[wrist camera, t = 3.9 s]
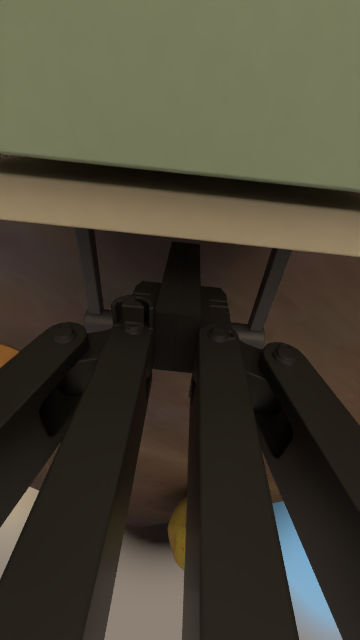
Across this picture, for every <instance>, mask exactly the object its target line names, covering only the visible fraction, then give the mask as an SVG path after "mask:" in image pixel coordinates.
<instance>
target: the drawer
mask: <svg viewBox="0 0 360 640" xmlns="http://www.w3.org/2000/svg"><path fill="white" fill-rule="evenodd" d="M0 219H1V220H10V221H20V222H29V223H39V224H48V225H58V226H68V227H74V229H75V235H76V240H77V246H78V252H79V258H80V264H81V270H82V276H83V282H84V287H85V293H86V299H87V305H88V310H87V312H86V314H85V318H84V327H85V329H86V330H87V333H91V332H100V331H105V330H108V329H111V328H112V326H113V319H112V310H104V307H103V298H102V290H101V282H100V274H99V266H98V258H97V250H96V242H95V234H94V229H96V230H106V231H115V232H125V233H134V234H144V235H153V236H163V237H173V238H182V239H192V240H201V241H211V242H220V243H230V244H239V245H249V246H259V247H268V248H272V251H271V254H270V257H269V260H268V263H267V266H266V269H265V273H264V276H263V279H262V282H261V285H260V288H259V291H258V294H257V297H256V300H255V304H254V307H253V310H252V313H251V316H250V319H249V322H248V324H241V323H231V326H232V329H233V330H234V331H236V332H237V334H238V336H239V340H240V341H242V342H244V343H245V344H248V345H250V346H253V347H256V348H259V349H263V346H264V341H265V332H264V328H263V326H264V323H265V320H266V318H267V315H268V312H269V310H270V307H271V304H272V302H273V299H274V296H275V294H276V291H277V288H278V286H279V283H280V280H281V277H282V275H283V272H284V269H285V267H286V264H287V261H288V259H289V256H290V253H291V251H292V250H297V251H306V252H316V253H325V254H335V255H345V256H354V257H360V193H358V192H350V191H340V190H331V189H322V188H312V187H303V186H294V185H284V184H275V183H265V182H256V181H247V180H237V179H228V178H219V177H209V176H200V175H191V174H181V173H172V172H163V171H153V170H144V169H134V168H125V167H116V166H106V165H97V164H88V163H78V162H69V161H60V160H50V159H41V158H31V157H22V156H19V157H11V158H3V159H0Z"/></svg>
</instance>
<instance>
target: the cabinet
mask: <svg viewBox="0 0 360 640" xmlns="http://www.w3.org/2000/svg"><path fill="white" fill-rule="evenodd" d="M0 154H3V155H13V156H22V157H31V158H41V159H50V160H60V161H69V162H78V163H88V164H97V165H106V166H116V167H125V168H134V169H144V170H153V171H163V172H172V173H181V174H191V175H200V176H209V177H219V178H228V179H237V180H247V181H256V182H265V183H275V184H284V185H294V186H303V187H312V188H322V189H331V190H340V191H350V192H359V193H360V0H0Z"/></svg>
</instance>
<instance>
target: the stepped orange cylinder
mask: <svg viewBox="0 0 360 640" xmlns="http://www.w3.org/2000/svg"><path fill="white" fill-rule="evenodd" d="M18 353H19V351H17V350H15V349H13V348H11V347H8V346H5V345H1V344H0V368H1V367H2V366H3V365H4V364H6V363H7V362H8V361H9V360H10V359H12V358H13V357H14V356H15V355H16V354H18Z"/></svg>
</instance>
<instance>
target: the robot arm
mask: <svg viewBox="0 0 360 640" xmlns="http://www.w3.org/2000/svg"><path fill="white" fill-rule="evenodd" d="M111 310H112V319H113V326H112V328H111V329H108V330H105V331H100V332H91V333H87V330H86V329H85V327H84V326H82V325H80V324H78V323H72V322H67V323H60V324H57V325H54V326H52V327H50V328H49V329H47V330H45V331H44V332H43V333H42V334H41V335H39V336H38V337H37V338H36V339H35V340H33V341H32V342H31V343H30V344H28V345H27V346H26V347H25V348H24V349H22V350H21V351H20V352H19V353H18V354H16V355H15V356H14V357H13V358H12V359H10V360H9V361H8V362H7V363H6V364H4V365H3V366H2V367H1V368H0V527H1V526H2V524H3V523H4V521H5V520H6V518H7V517H8V516H9V514H10V513H11V511H12V510H13V508H14V507H15V506H16V504H17V503H18V502H19V500H20V499H21V497H22V496H23V494H24V493H25V492H26V490H27V489H28V487H29V486H30V485H31V483H32V482H33V480H34V479H35V478H36V476H37V475H38V473H39V472H40V471H41V469H42V468H43V466H44V465H45V463H46V462H47V461H48V459H49V458H50V456H51V455H52V454H53V452H54V451H55V449H56V448H57V446H58V445H59V444H60V442H61V444H60V446H59V448H58V450H57V453H56V455H55V457H54V459H53V462H52V464H51V466H50V468H49V471H48V473H47V475H46V478H45V480H44V482H43V484H42V487H41V489H40V491H39V493H38V496H37V498H36V500H35V502H34V505H33V507H32V509H31V511H30V514H29V516H28V518H27V520H26V523H25V525H24V527H23V529H22V532H21V534H20V536H19V539H18V541H17V543H16V545H15V548H14V550H13V552H12V554H11V556H10V559H9V561H8V563H7V566H6V568H5V570H4V572H3V575H2V577H1V579H0V640H104V637H105V632H106V626H107V621H108V615H109V610H110V605H111V599H112V594H113V588H114V583H115V578H116V572H117V567H118V561H119V555H120V550H121V545H122V540H123V534H124V529H125V523H126V518H127V513H128V507H129V502H130V496H131V491H132V485H133V480H134V475H135V469H136V464H137V458H138V453H139V448H140V442H141V437H142V431H143V426H144V420H145V415H146V410H147V404H148V399H149V393H150V388H151V383H152V369H158V370H168V371H178V372H188V373H192V379H191V385H190V391H189V397H190V417H189V447H188V478H187V508H186V538H185V568H184V598H183V599H184V601H183V628H182V640H299V636H298V631H297V627H296V621H295V616H294V611H293V606H292V601H291V596H290V592H289V586H288V581H287V576H286V571H285V566H284V561H283V556H282V551H281V546H280V541H279V536H278V531H277V526H276V521H275V516H274V511H273V506H272V501H271V496H270V490H269V485H268V480H267V475H266V470H265V465H264V460H263V455H262V452H263V454H264V456H265V459H266V461H267V463H268V466H269V468H270V471H271V473H272V475H273V478H274V480H275V482H276V485H277V487H278V489H279V492H280V494H281V496H282V499H283V501H284V503H285V506H286V508H287V510H288V513H289V515H290V517H291V519H292V521H293V524H294V527H295V529H296V531H297V534H298V536H299V538H300V541H301V543H302V545H303V548H304V550H305V552H306V555H307V557H308V559H309V562H310V564H311V566H312V569H313V571H314V573H315V576H316V578H317V580H318V583H319V585H320V587H321V590H322V592H323V594H324V597H325V599H326V601H327V604H328V606H329V608H330V611H331V613H332V615H333V618H334V620H335V622H336V625H337V627H338V629H339V632H340V634H341V636H342V638H343V640H360V426H359V424H358V423H357V422H356V421H355V419H354V418H353V417H352V415H351V414H350V413H349V412H348V410H347V409H346V408H345V407H344V405H343V404H342V403H341V402H340V400H339V399H338V398H337V397H336V395H335V394H334V393H333V391H332V390H331V389H330V388H329V386H328V385H327V384H326V383H325V381H324V380H323V379H322V378H321V376H320V375H319V374H318V373H317V371H316V370H315V369H314V367H313V366H312V365H311V364H310V362H309V361H308V360H307V359H306V357H305V356H304V355H303V354H302V353H301V352H300V351H299V350H298V349H296V348H294V347H292V346H291V345H288V344H285V343H280V342H273V343H269V344H267V345H266V346H265V347H264V349H263V350H262V349H259V348H256V347H253V346H250V345H248V344H245V343H244V342H242V341H240V340H239V336H238V334H237V332H236V331H234V330H233V329H232V326H231V321H230V315H229V309H228V304H227V298H226V294H225V293H224V292H223V291H222V289H221V288H214V287H204V286H201V281H200V244H192V243H182V242H172V243H171V248H170V252H169V256H168V260H167V264H166V268H165V272H164V276H163V280H162V283H157V282H147V281H142V282H141V283H139V284H138V285H137V286H136V287H135V289H134V292H133V294H132V295H127V296H123V297H120V298H118V299H116V300H114V301H113V302H112V304H111ZM261 449H262V450H261Z"/></svg>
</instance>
